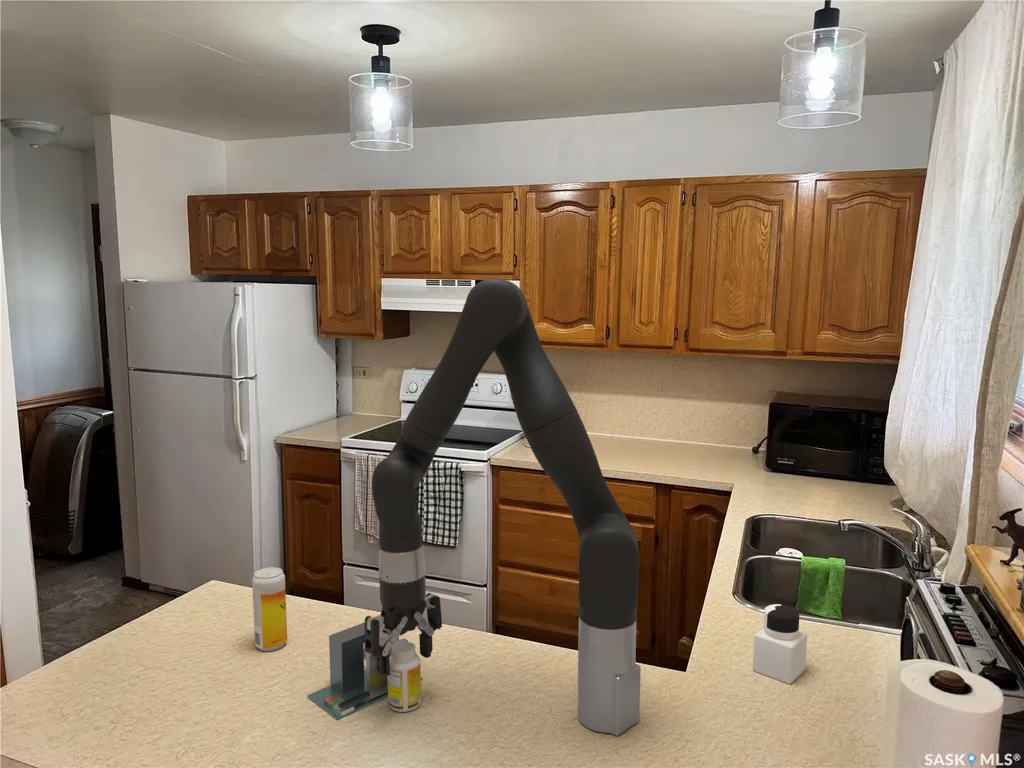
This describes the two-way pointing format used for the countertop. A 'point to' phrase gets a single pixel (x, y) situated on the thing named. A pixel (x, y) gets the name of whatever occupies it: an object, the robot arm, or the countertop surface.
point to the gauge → (346, 673)
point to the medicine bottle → (780, 645)
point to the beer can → (269, 608)
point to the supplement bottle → (404, 678)
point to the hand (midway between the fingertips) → (405, 665)
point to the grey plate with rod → (372, 680)
